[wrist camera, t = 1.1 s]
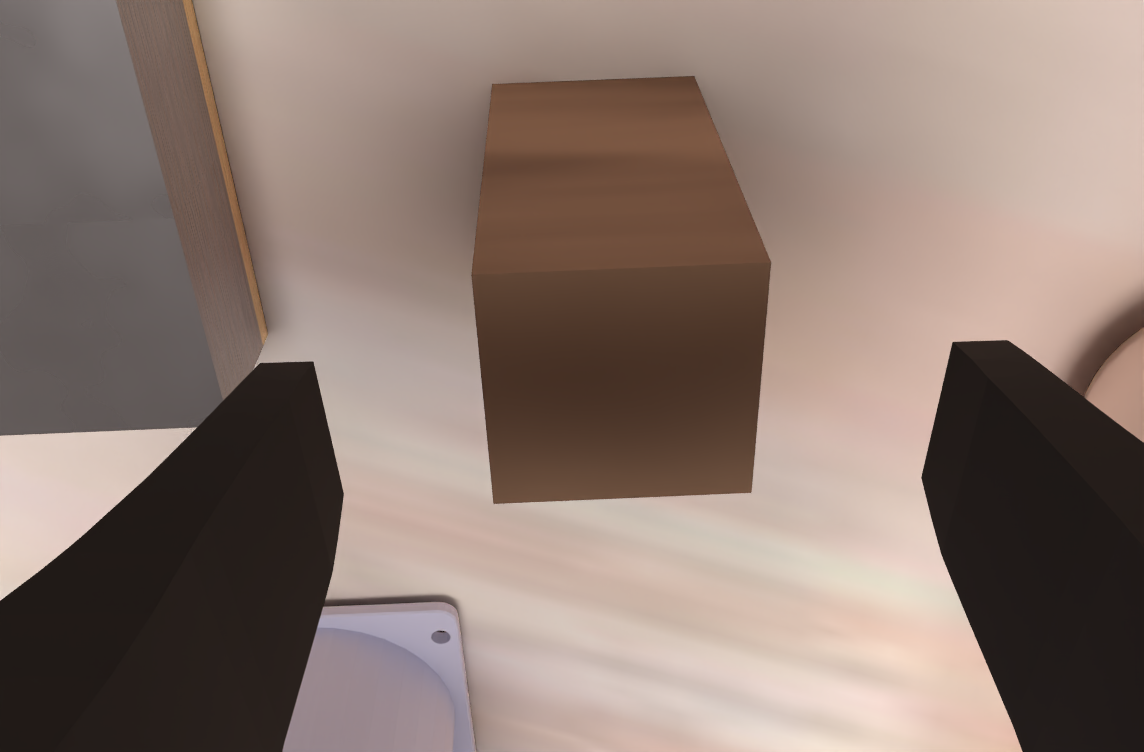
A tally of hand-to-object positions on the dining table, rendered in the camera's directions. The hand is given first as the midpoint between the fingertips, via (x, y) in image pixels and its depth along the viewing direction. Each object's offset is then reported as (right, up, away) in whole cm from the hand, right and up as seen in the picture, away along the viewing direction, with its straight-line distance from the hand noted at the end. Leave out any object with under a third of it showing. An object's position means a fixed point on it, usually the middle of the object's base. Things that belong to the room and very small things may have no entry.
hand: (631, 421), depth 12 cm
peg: (0, +5, +10) cm, 11 cm away
